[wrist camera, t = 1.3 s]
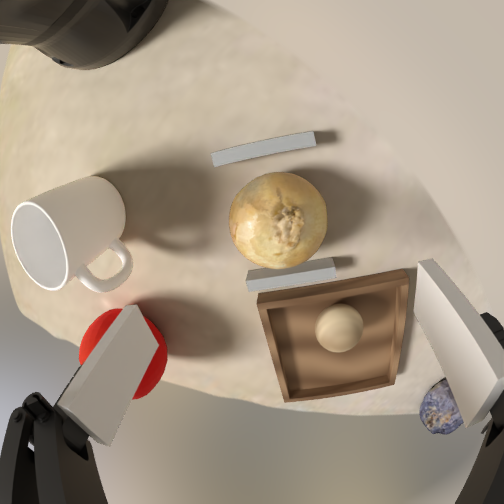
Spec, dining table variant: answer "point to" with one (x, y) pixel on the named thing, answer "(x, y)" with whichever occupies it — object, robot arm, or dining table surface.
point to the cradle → (303, 271)
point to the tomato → (156, 364)
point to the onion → (278, 220)
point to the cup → (71, 234)
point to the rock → (440, 410)
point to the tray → (327, 362)
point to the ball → (339, 327)
